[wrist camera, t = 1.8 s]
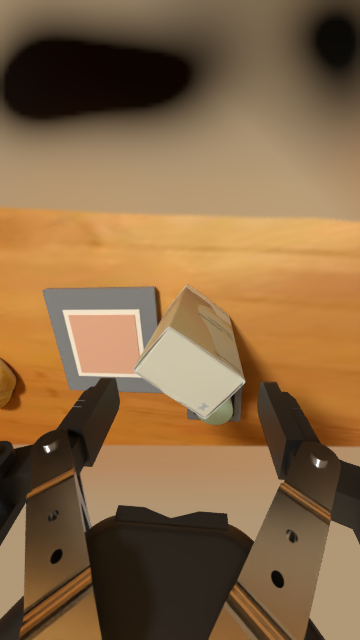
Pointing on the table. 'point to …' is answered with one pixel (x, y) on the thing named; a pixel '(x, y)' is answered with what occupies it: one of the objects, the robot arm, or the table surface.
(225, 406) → the button
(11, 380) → the bread roll
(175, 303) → the skincare box
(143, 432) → the table surface
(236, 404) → the button housing
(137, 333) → the picture board
